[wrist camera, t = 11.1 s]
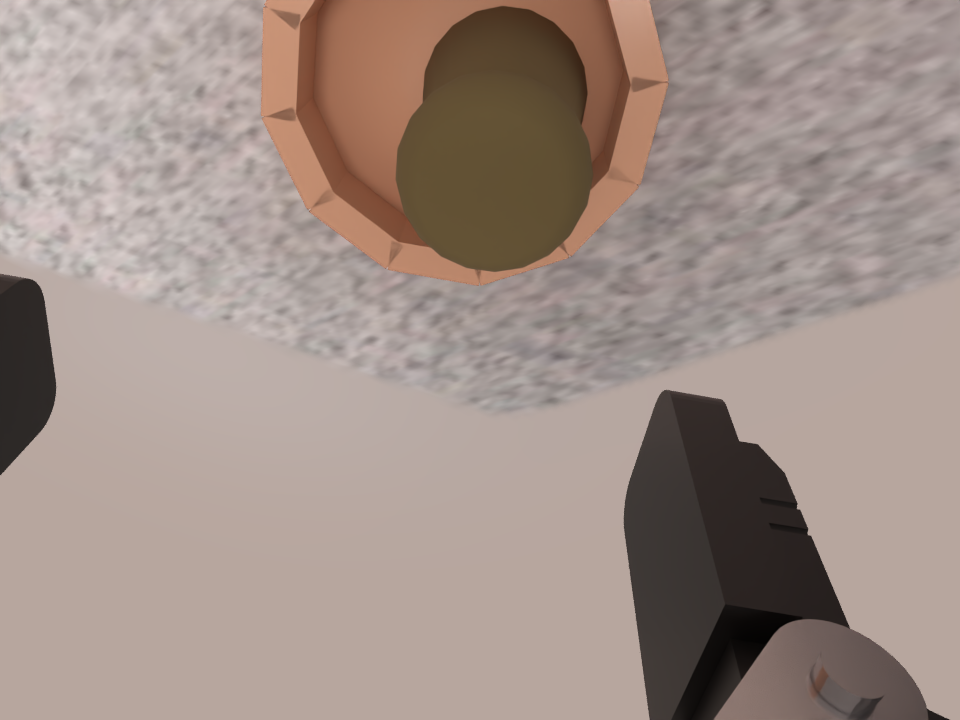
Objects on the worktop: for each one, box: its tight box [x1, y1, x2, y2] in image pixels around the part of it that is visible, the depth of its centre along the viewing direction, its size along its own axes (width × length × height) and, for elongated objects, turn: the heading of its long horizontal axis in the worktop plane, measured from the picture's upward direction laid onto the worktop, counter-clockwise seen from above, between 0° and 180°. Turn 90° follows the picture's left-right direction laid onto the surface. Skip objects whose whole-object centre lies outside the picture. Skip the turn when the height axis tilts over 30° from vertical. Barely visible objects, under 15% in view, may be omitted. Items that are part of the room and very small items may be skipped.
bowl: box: [261, 0, 669, 286], centre depth 28 cm, size 13×13×4 cm
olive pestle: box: [395, 6, 593, 272], centre depth 24 cm, size 6×6×11 cm
